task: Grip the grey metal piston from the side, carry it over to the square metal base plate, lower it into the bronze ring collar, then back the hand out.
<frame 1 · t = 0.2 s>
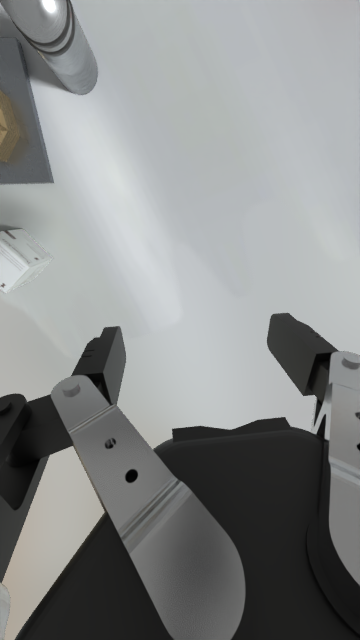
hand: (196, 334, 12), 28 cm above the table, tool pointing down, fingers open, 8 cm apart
piston: (76, 67, 27), on the table
skincare box: (28, 255, 36), on the table
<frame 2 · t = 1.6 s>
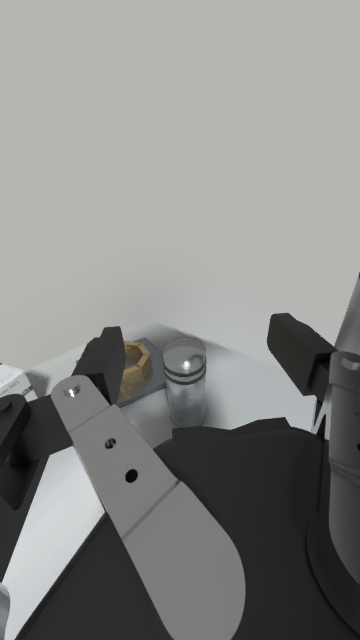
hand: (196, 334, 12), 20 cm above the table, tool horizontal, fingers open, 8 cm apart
piston: (187, 412, 31), on the table
skincare box: (12, 418, 32), on the table
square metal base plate: (124, 372, 39), on the table
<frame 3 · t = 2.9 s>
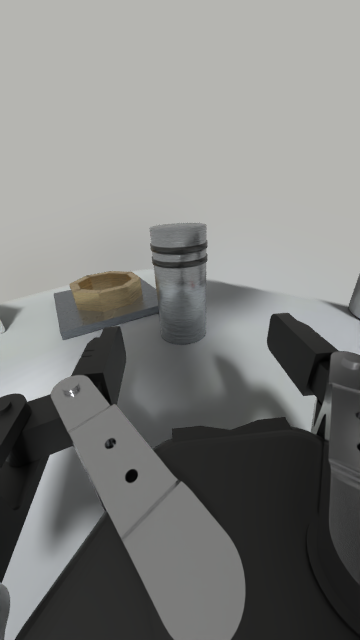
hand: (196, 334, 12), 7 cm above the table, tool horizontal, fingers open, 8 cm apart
piston: (183, 331, 25), on the table
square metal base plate: (110, 303, 33), on the table
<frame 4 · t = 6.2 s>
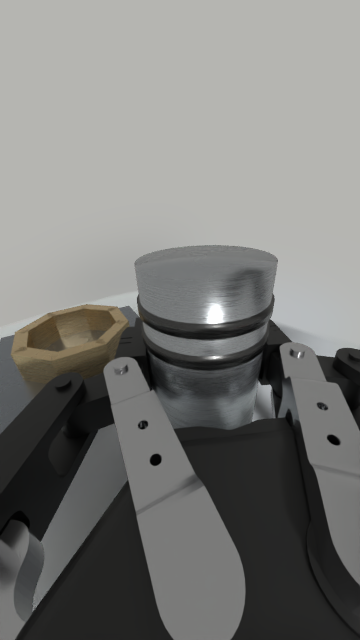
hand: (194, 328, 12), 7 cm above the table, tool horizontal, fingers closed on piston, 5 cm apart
piston: (202, 443, 13), on the table, touching gripper
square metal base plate: (83, 357, 21), on the table
when the fingers open (9 cm above the table, at t = 10.7 s): piston drops 1 cm, resting on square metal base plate.
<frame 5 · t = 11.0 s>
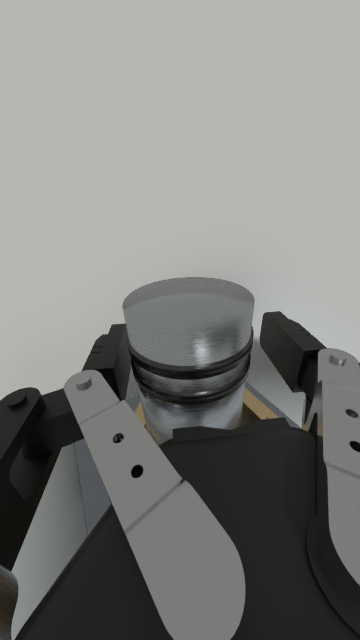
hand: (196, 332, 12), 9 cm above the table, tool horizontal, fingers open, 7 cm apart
piston: (194, 459, 14), point 1 cm above the table, touching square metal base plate
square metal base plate: (202, 466, 14), on the table
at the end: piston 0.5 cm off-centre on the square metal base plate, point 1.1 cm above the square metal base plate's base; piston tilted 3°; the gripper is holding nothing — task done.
